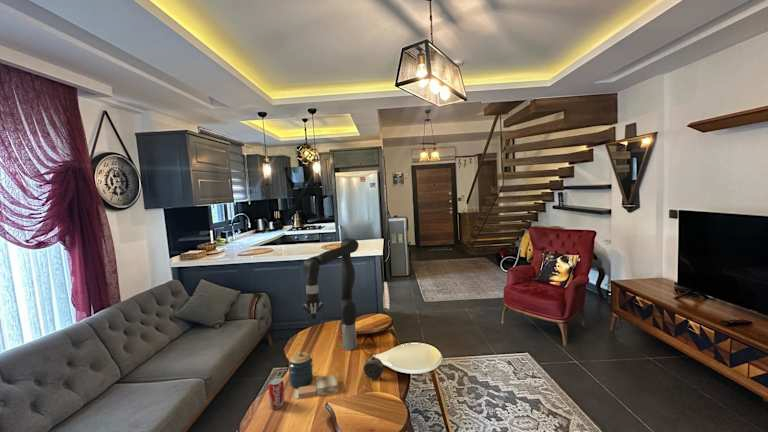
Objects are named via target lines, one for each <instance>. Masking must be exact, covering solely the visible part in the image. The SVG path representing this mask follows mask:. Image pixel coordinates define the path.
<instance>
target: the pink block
mask: <svg viewBox="0 0 768 432" xmlns="http://www.w3.org/2000/svg"><path fill="white" fill-rule="evenodd" d="M298 389H299V393H298V395H299V398H300V397H305V398H307V397H306V396H310V397H313V396H312V395H314V396H317V395H316V384H309V385H308V386H304V387H299V388H298ZM300 399H301V398H300Z"/></svg>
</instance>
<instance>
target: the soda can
mask: <svg viewBox="0 0 768 432" xmlns="http://www.w3.org/2000/svg"><path fill="white" fill-rule="evenodd" d="M284 389H285V387H284V380H283V378H282V377H281V376H275V377H273V378H271V379H270V380H269V383H268V401H269V407H270V408H271V409H274V410H278V409H280V408H282V407H283V405H284V404H285V390H284Z"/></svg>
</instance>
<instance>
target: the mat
mask: <svg viewBox="0 0 768 432" xmlns="http://www.w3.org/2000/svg"><path fill="white" fill-rule="evenodd" d="M298 393H299V388H296V389H294V396H295V400H299V399H305V398H309V397H313V396H317V391H316V395H312V396H306V397H300V398H299V395H298Z"/></svg>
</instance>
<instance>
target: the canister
mask: <svg viewBox="0 0 768 432" xmlns="http://www.w3.org/2000/svg"><path fill="white" fill-rule="evenodd" d="M312 362H313V358H312V356H311V354H310V353H308V352H305V351H302V350H301V351H298V352H296V353H294V354H293V355H292V356H291V357H290V358H289V361H288V366H289V368H288V372H289V374H288V375H289V384H290V385H289V386H291V387H292V388H294V389H295V388H296V389H299V387H304V386H310V385H312V384H311V383H312V382H313V380H314V375H313V363H312Z"/></svg>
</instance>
